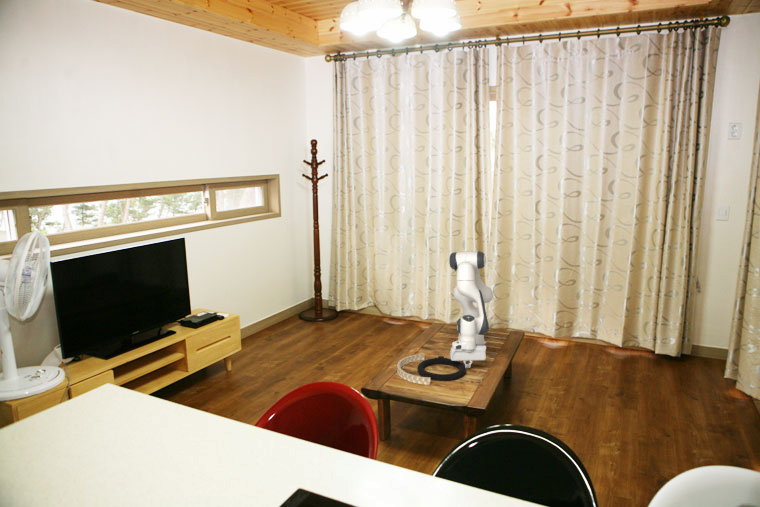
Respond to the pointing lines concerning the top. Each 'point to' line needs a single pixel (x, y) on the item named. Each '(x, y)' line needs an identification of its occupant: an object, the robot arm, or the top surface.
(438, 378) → the cable lock
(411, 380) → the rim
